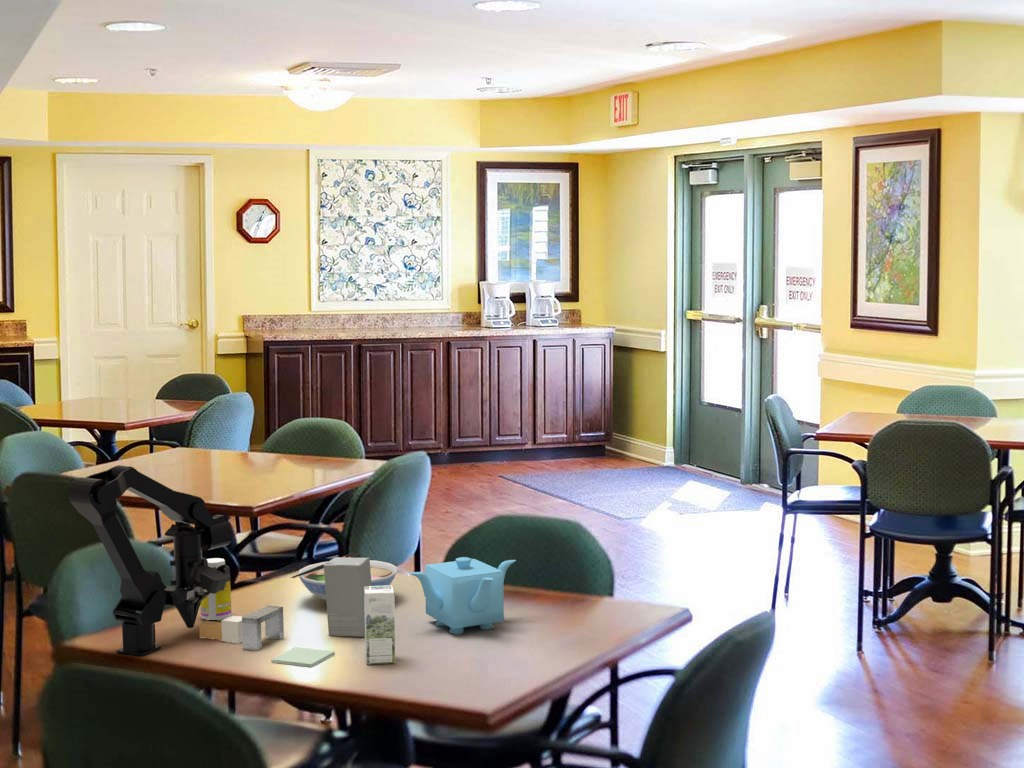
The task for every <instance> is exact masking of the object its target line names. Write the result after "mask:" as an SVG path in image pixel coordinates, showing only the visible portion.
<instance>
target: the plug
mask: <svg viewBox="0 0 1024 768" xmlns="http://www.w3.org/2000/svg"><path fill="white" fill-rule="evenodd" d="M242 617H243V616H241V615H231V616H230V617H228V618H226V619H223V620H220V621H221V622H220V621H209V620H204V621H202V622H201V623H199V625H198V627H199V638H200V637H206V638H214V639H220V640H219V641H221V642H222V641H226V642H225V643H230V642H232V644H238V643H239V644H240V642H241V643H243V638H242ZM214 639H213V640H214Z"/></svg>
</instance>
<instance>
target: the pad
mask: <svg viewBox="0 0 1024 768" xmlns="http://www.w3.org/2000/svg"><path fill="white" fill-rule="evenodd" d="M330 656H331V657H332V656H335V651H333V650H325V649H324V650H323V649H315V648H308V647H299V646H294V647H293V648H291V649H288V650H286V651H284V652H283V653H280V654H279V655H277V656H275V657H273V658H272V659H271V663H274V664H275V663H276V664H283V665H288V666H289V665H291V666H299V667H306V666H307V667H308V668H312V666H313V667H315V666H316V665H318V664H320V663H321V661H322V662H324V661H325V660H327V659H329V658H330ZM323 660H324V661H323ZM317 663H318V664H317Z"/></svg>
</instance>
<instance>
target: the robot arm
mask: <svg viewBox="0 0 1024 768" xmlns="http://www.w3.org/2000/svg"><path fill="white" fill-rule="evenodd" d="M126 491H129V492H130V493H132V494H134V495H135V496H136V495H137V496H138V497H140V498H142V499H144V500H146V501H148V502H149V503H152V504H154V505H155V506H157V507H158V508H159V509H160V510H161V513H163V515H165V516H166V517H167V518H168V519H170V521H173V522H177V523H183V524H185V525H180V524H174V523H172V524H171V526H170V527H169V528H168V529H167V530H166V531H165V533H164V536H165V537H171V538H173V559H171V560H169V566H170V567H174V578H173V579H170V586H169V585H165V584H164V582H163V579H162V577H161V575H160V573H159V572H158V571H152V570H148V569H145V568H144V565H143V564H142V562H141V559H140V558H139V555H137V553H136V550H135V549H134V546H133V544H132V542H131V541H130V538H129V536H128V535H127V533H126V531H125V529H124V527H123V525H122V523H121V521H120V519H119V517H118V515H117V506H118V501H117V498H118V499H119V498H120V497H122V496H123V495H124V494H125V492H126ZM67 498H68V500H69V502H70V504H71V505H72V506H73V507H74V509H75V510H76V511H77V513H78V514H79V515H81V516H83V517H84V519H86V520H87V521H89V522H90V524H92V526H93V528H94V530H95V532H96V534H97V536H98V538H99V539H100V541H101V544H102V545H103V547H104V549H105V551H106V553H107V555H108V556H109V558H110V560H111V563H112V564H113V566H114V567H115V570H116V572H117V574H118V576H119V577H120V578H119V579H120V587H119V592H120V595H121V598H120V599H119V601H118V602H117V604H116V605H115V607H114V609H113V610H112V614H113V618H114V620H115V621H121V622H122V623H121V631H122V633H121V634H122V647H121V648H119V649H116V653H117V654H123V655H134V656H145V655H148V654H150V653H152V652H154V651H157V650H159V649H161V648H162V644H156V625H155V623H159V622H161V621H162V618H163V615H164V614H163V613H164V609H165V605H168V606H169V605H170V606H174V607H175V608H176V610H177V611H178V613H179V616H180V617H181V619H182V621H183V622H184V623H185V624H184V625H186V628H188V629H192V628H194V627H195V624H196V620H197V616H198V614H199V610H200V604H201V602H202V600H203V599H204V598H205V597H206V596H208V595H209V594H210V593H212V594H215V593H217V592H219V591H221V590H222V591H223V590H224V589H225V585H226V582H228V581H230V582H231V571H230V566H229V565H226V563H225V564H223V565H220V566H219V567H218V568H217V569H216V567H213V568H211V567H209V566H208V561H207V560H206V559H207V557H203V551H209V550H214V549H217V548H222V547H226V546H228V545H230V544H231V543H232V541H233V531H232V527H231V526H230V524H229V522H227V520H226V515H224V514H223V515H222V514H214V515H213V516H212V514H211V513H210V511H209V510H208V508H207V507H206V502H205V499H203V498H202V497H200V496H197V495H193V494H190V493H184V492H180V491H177V490H174V489H172V488H169V487H168V486H166V485H164V484H162V483H161V482H159V481H157V480H156V479H153V478H151V477H150V476H147V475H146V474H144V473H142V472H141V471H138V470H137V468H135V467H134V466H133V467H132V466H130V465H129V466H127V465H121V464H119V465H115V466H112V467H110V468H108V469H106V470H103V471H100V472H97V473H93V474H90V475H88V476H86V477H83V476H81V477H77V478H76V479H74V480H73V481H72V482H71V484H70V486H69V488H68V492H67ZM192 525H194V526H192ZM205 590H207V591H208V592H205ZM137 611H138V612H137ZM139 612H140V613H139Z"/></svg>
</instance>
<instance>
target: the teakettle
mask: <svg viewBox="0 0 1024 768" xmlns="http://www.w3.org/2000/svg"><path fill="white" fill-rule="evenodd" d="M516 561H517V560H516V559H508V560H507V559H506V560H504V561H502V562H501V563H500V564H499V566H497V568H496V567H494V566H491V565H489V564H487V563H485V562H483V561H480V560H478V559H476V558H470V557H467V556H462V557H457V558H455V560H454V561H447V562H438V563H429V564H425V566H424V572H423V571H415V572H414V571H412V572H409V575H411V576H414V577H416V578H417V579H418V580H419V582H420V584H421V587H422V592H423V593H424V594H423V595H424V597H425V614H426V615H427V616H429V617H431V618H433V619H435V621H436V623H434V624H435V626H437V627H446V626H447V627H448V628H450V629H449V632H450V633H449V634H451V633H453V634H452V635H461V634H464V628H469V627H475V626H479V628H480V629H481V628H482V629H481V630H492V628H493V627H494V626H493V624H496V623H501V622H503V623H504V622H505V616H504V615H505V614H504V612H505V610H504V608H505V607H504V606H505V605H504V582H505V576H506V572H507V570H508V568H509V567H510V566H511V565H512V564H514V563H515V562H516ZM493 629H494V628H493ZM460 633H461V634H460Z"/></svg>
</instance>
